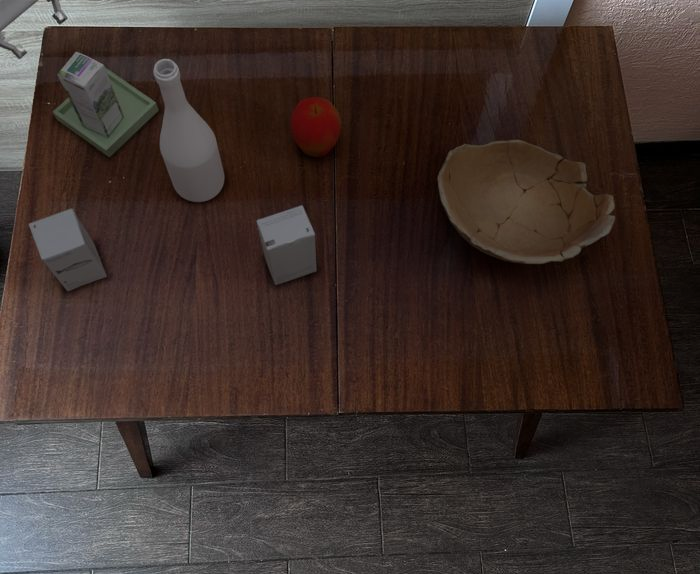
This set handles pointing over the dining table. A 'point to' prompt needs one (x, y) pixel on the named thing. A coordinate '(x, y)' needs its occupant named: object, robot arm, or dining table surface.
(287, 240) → the cosmetic box
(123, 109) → the tray
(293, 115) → the apple
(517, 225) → the ceramic bowl
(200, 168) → the wine bottle
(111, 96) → the syrup box
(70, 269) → the white packaging box
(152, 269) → the dining table surface
